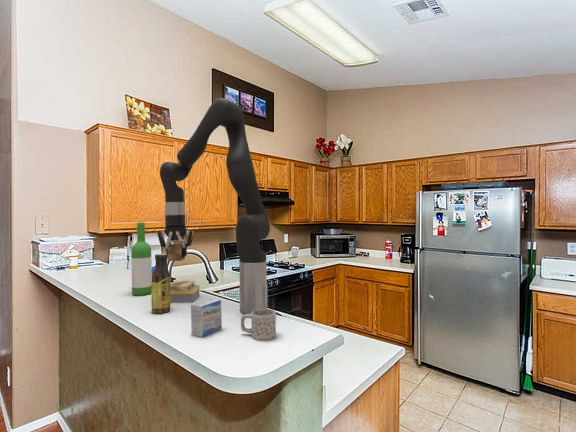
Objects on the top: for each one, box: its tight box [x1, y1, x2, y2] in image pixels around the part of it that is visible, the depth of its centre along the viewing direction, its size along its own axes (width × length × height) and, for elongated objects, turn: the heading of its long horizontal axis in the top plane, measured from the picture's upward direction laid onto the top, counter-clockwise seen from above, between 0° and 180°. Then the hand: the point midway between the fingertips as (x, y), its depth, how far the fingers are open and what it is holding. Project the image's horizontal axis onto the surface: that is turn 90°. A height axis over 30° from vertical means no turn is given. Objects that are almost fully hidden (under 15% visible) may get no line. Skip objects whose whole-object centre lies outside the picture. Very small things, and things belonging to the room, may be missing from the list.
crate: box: [167, 243, 186, 262], centre depth 133 cm, size 5×5×6 cm
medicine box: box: [190, 298, 223, 338], centre depth 98 cm, size 8×4×9 cm, turn 148°
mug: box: [240, 308, 277, 342], centre depth 95 cm, size 10×7×7 cm
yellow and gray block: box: [171, 284, 201, 303], centre depth 134 cm, size 12×9×4 cm
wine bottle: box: [131, 222, 153, 297], centre depth 143 cm, size 8×8×30 cm
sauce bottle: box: [150, 253, 172, 314], centre depth 118 cm, size 7×6×20 cm
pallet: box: [171, 280, 195, 291], centre depth 134 cm, size 8×10×2 cm
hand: (176, 257), depth 133 cm, fingers closed on crate, 5 cm apart
